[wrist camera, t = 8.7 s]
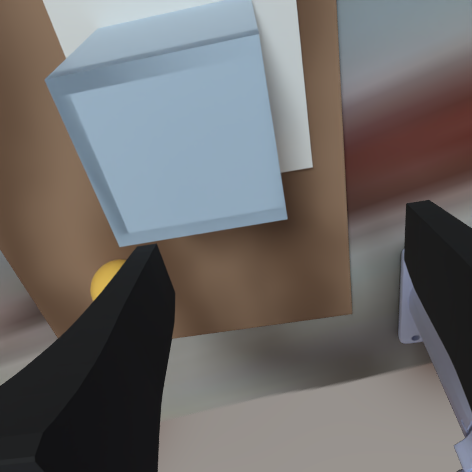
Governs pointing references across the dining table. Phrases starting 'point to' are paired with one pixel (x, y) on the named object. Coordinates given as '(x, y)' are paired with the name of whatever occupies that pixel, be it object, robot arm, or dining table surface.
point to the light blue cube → (174, 123)
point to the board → (182, 248)
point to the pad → (272, 46)
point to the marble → (104, 276)
